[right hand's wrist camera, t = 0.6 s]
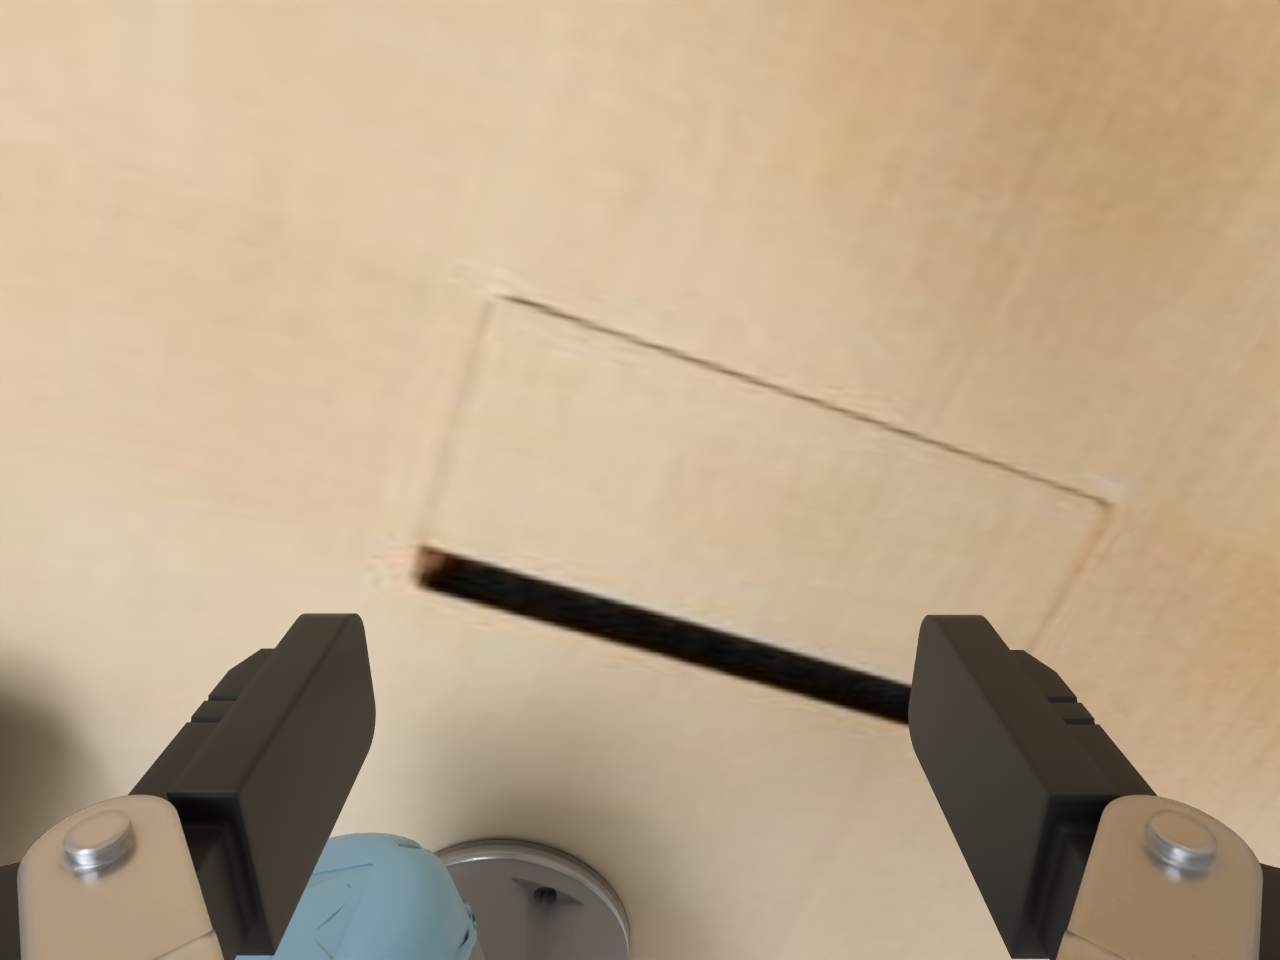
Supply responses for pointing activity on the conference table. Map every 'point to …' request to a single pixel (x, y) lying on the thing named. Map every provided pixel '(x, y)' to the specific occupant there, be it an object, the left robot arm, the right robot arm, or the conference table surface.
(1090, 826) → the right robot arm
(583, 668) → the conference table surface
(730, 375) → the conference table surface
